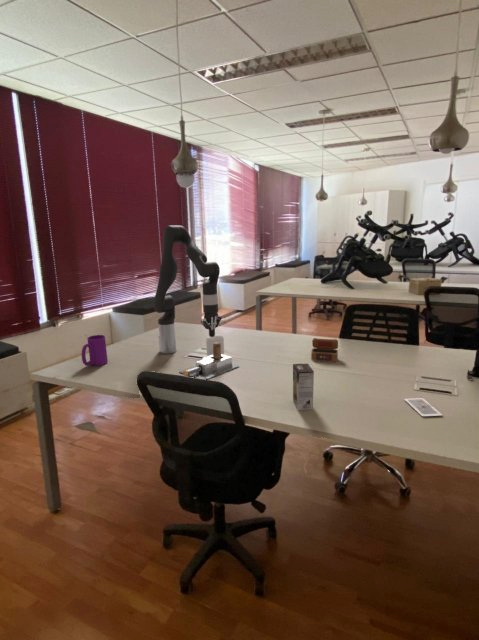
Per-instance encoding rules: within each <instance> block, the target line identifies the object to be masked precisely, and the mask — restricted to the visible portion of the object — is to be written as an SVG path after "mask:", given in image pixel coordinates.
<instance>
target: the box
mask: <svg viewBox="0 0 479 640" xmlns="http://www.w3.org/2000/svg"><path fill="white" fill-rule="evenodd" d="M311 342H312V347H313V348H312V349H311V353H310V354H311V355H310V356H311V357H310V359H311V361H313V362H314V361H315V362H326V363H337V362H338V356H339V355H338V354H339V353H338V348H339V341H338V339H336V338H333V339H332V338H331V339H329V338H317V337H314V338H313V339H312V340H311Z"/></svg>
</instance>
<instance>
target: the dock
mask: <svg viewBox="0 0 479 640" xmlns="http://www.w3.org/2000/svg"><path fill="white" fill-rule="evenodd" d="M198 366H202V371H199V372H196V373H194V374H191V375H188V376H187V377H189V378H192V377H195V378H202V379H208V380H210V379H213V378H216V377H218V376H220V375H223V374H226V373H229V372H230V371H233V370H235V369H238V368H240V365H237V364H234V363H233V357H232V356H230V355H226V354H224V355H223V354H221V359H219V360H215V359H213V355H210V356H207V355H206V356H204V357H202V358H201V360H198V361H195V365H194V366H191V367H188V368H186V369H183V370H179V372H178V373H179V374H182V375H183V372H184V371H186V370H189V369H192V368H195V367H198ZM195 378H194V379H195Z"/></svg>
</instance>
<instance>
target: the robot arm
mask: <svg viewBox="0 0 479 640" xmlns="http://www.w3.org/2000/svg"><path fill="white" fill-rule="evenodd" d="M162 242H163V244H162V256H161V262H160V269H159V278H158V281H157V283H158V284H157V288H156V292H155V297H154V299H153V309H154V312H155V313H158V314H161V313H163V315H162V316H161V317H159V318H158V320H157V321H158V324H157V325H158V346H159V351H160V353H161V354H167V355H168V354H173V353H176V352H177V341H176V328H175V327H176V326H175V324H176V323H175V318H176V307H175V306H176V305H175V304H176V303H175V299H174V297H173V296H172V295H170V294H169V295H167V292H168V291H169V289H170V287H172V285H173V284H174V283H175V281H176V279H177V275H178V274H177V273H178V270H179V267H178V263H177V261H176V258H175V256H174V254H173V250H174V249H173V248H174V245H175V244H183V245H184V246H185V247H186V256H187V257H188V259H189V260H190V261H191V262H192V264H194V266H195V269H196V271H197V273H198V276H200V277H201V278H208V279H207V281H205V282H203V283H202V311H203V314H204V315H203V319H201V320H200V324H201V325H202V326H203V327H204V329H205V330H208V337H209V336H210V337H214V336H215V334H216V328H218V327H219V326H220V322H221V320H222V319H223V318H222V316H219V314H218V313H219V297H218V283H219V277H220V273H221V272H220V271H221V270H220V266H219V264H218V263H217V262H216V261H209V262H208V258H207V256H206V255H205V253H203V251H202V250H201V249H200V248H199V246H197V245H196V243H195V241H194V239H193V238H192V236H191V234H190V233H189V232H188V230H187V229H186V227H185V226H183V225H176V224H175V225H174V224H173V225H172V224H171V225H167V226H166V227H165V228H164V231H163V241H162Z"/></svg>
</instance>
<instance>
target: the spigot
mask: <svg viewBox="0 0 479 640" xmlns="http://www.w3.org/2000/svg"><path fill="white" fill-rule="evenodd" d="M213 359H215V360H219V359H221V343H213Z"/></svg>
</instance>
